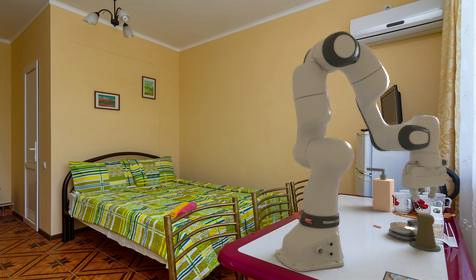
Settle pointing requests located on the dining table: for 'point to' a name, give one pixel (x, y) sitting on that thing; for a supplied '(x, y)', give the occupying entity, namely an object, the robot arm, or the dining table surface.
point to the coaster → (413, 243)
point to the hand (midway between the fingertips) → (423, 199)
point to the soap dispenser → (382, 191)
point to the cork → (425, 231)
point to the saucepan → (405, 227)
